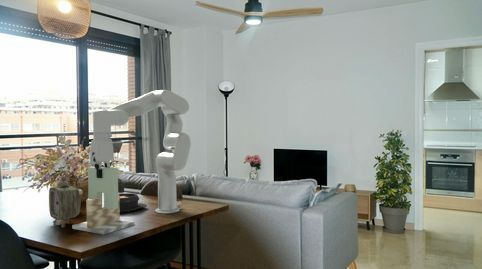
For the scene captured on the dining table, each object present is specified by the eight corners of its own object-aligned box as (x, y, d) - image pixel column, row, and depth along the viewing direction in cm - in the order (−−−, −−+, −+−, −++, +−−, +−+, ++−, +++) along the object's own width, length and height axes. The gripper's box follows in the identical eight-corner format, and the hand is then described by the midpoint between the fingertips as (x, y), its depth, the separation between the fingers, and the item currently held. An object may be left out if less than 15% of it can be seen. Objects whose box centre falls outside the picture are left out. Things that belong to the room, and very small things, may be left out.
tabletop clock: (49, 223, 182) (48, 170, 181) (69, 220, 188) (68, 169, 188) (60, 229, 172) (59, 173, 171) (81, 225, 178) (80, 171, 177)
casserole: (104, 217, 194) (103, 200, 194) (95, 211, 209) (94, 195, 209) (152, 211, 208) (151, 195, 208) (140, 205, 223) (140, 190, 223)
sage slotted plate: (93, 205, 181) (93, 166, 180) (118, 208, 173) (117, 168, 172) (88, 206, 178) (87, 167, 178) (113, 209, 170) (112, 168, 170)
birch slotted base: (104, 219, 189) (103, 192, 188) (134, 224, 179) (134, 195, 178) (72, 228, 173) (71, 198, 173) (103, 234, 163) (102, 202, 163)
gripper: (110, 136, 184) (111, 175, 184) (81, 137, 170) (81, 179, 170) (122, 136, 180) (122, 176, 180) (93, 137, 166) (93, 180, 166)
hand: (102, 177), depth 175 cm, fingers closed on sage slotted plate, 3 cm apart
